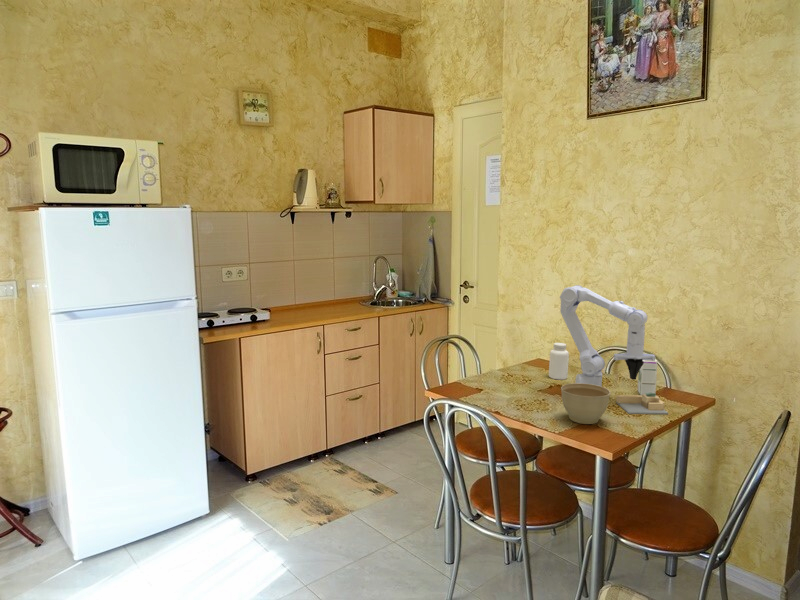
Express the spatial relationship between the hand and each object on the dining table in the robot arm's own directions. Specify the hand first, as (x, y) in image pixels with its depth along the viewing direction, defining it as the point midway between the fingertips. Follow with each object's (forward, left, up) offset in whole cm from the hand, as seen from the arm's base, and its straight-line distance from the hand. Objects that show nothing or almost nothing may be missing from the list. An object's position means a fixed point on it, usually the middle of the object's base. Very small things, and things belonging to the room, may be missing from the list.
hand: (632, 378), depth 208 cm
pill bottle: (-18, +35, -10) cm, 41 cm away
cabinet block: (+5, -4, -9) cm, 11 cm away
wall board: (+2, -5, -10) cm, 11 cm away
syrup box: (+11, +13, -10) cm, 20 cm away
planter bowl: (-23, -17, -10) cm, 30 cm away
